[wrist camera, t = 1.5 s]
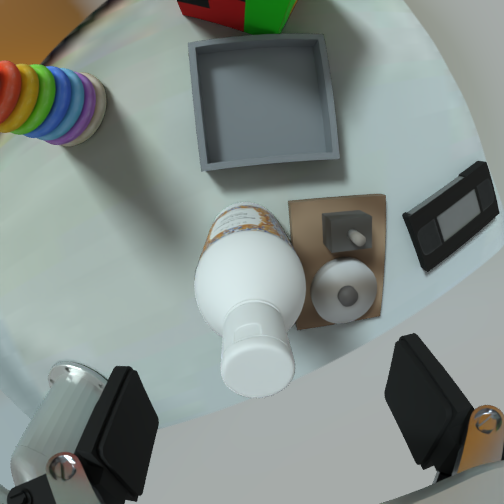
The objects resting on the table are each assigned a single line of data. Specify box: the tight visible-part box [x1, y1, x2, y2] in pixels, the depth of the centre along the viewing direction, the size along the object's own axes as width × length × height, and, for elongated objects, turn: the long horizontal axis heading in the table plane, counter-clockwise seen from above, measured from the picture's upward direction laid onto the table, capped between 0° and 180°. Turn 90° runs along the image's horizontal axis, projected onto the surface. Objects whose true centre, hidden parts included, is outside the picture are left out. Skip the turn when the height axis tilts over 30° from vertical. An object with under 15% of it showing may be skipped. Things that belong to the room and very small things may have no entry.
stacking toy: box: [0, 61, 106, 146], centre depth 16 cm, size 8×8×19 cm
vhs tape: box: [402, 161, 499, 272], centre depth 29 cm, size 8×14×2 cm, turn 122°
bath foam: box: [194, 202, 306, 398], centre depth 20 cm, size 7×7×20 cm
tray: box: [188, 34, 340, 172], centre depth 24 cm, size 12×12×3 cm
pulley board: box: [288, 194, 386, 330], centre depth 28 cm, size 14×10×6 cm
